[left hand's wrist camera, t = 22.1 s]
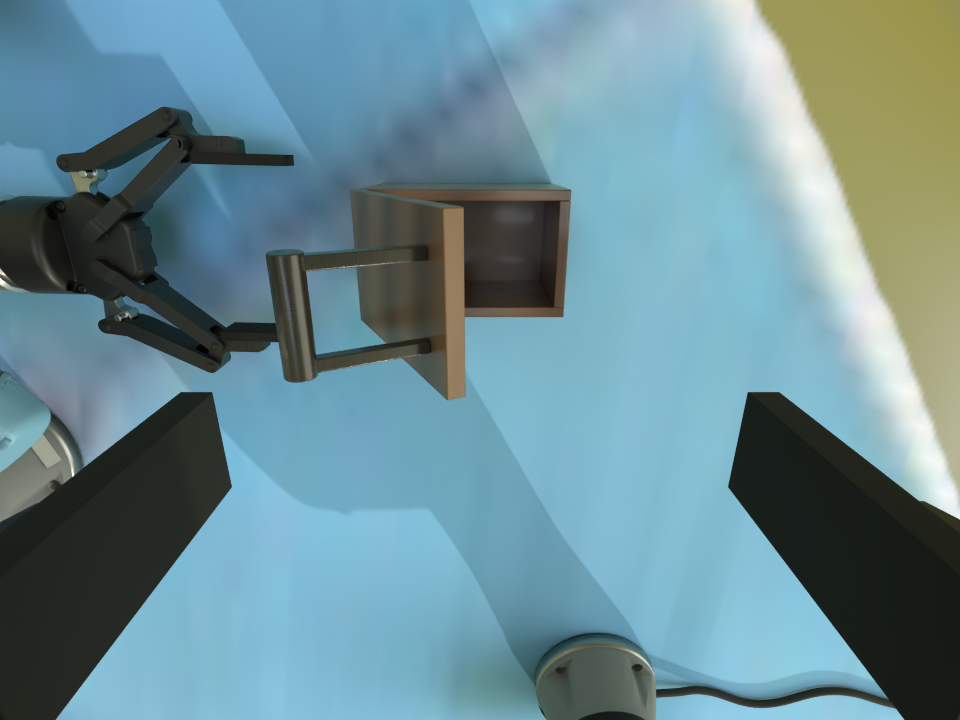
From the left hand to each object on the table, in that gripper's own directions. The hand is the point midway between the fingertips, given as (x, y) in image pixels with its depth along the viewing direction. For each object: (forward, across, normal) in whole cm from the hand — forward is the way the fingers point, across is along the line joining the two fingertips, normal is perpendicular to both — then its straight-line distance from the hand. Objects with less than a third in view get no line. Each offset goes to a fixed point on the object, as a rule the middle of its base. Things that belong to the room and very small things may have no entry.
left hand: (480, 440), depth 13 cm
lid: (+19, -4, 0) cm, 20 cm away
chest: (+37, -1, 0) cm, 37 cm away
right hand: (+30, -14, 0) cm, 33 cm away
